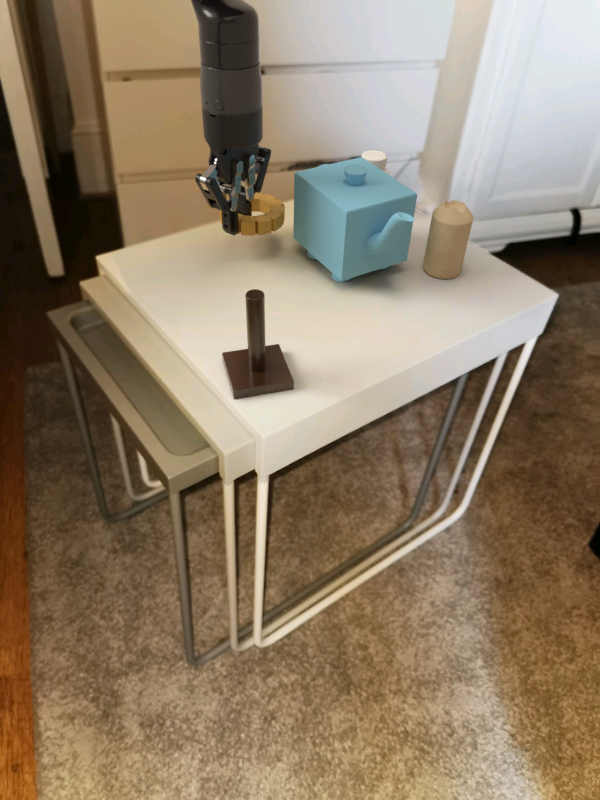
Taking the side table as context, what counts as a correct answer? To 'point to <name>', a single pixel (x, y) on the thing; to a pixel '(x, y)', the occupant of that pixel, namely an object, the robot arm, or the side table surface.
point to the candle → (447, 239)
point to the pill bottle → (376, 159)
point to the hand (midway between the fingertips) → (237, 228)
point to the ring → (262, 216)
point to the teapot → (352, 217)
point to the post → (256, 357)
